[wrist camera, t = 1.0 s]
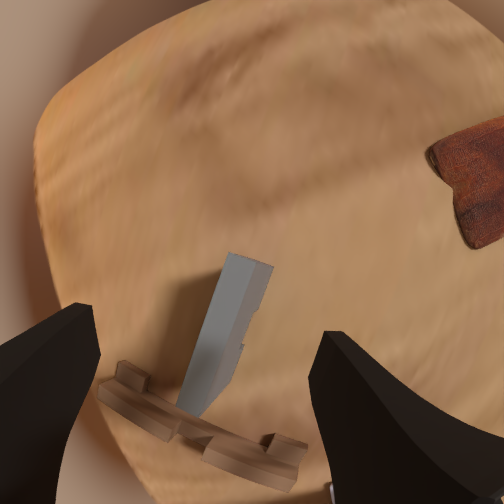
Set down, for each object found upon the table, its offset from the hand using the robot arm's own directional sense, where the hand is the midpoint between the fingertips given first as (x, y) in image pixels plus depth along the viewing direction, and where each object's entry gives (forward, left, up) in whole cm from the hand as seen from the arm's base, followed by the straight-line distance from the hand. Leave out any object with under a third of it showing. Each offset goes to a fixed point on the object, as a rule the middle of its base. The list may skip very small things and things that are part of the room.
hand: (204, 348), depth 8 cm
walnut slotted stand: (-10, +8, -14) cm, 19 cm away
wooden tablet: (+6, -30, -15) cm, 34 cm away
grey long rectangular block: (-1, +2, -14) cm, 14 cm away
